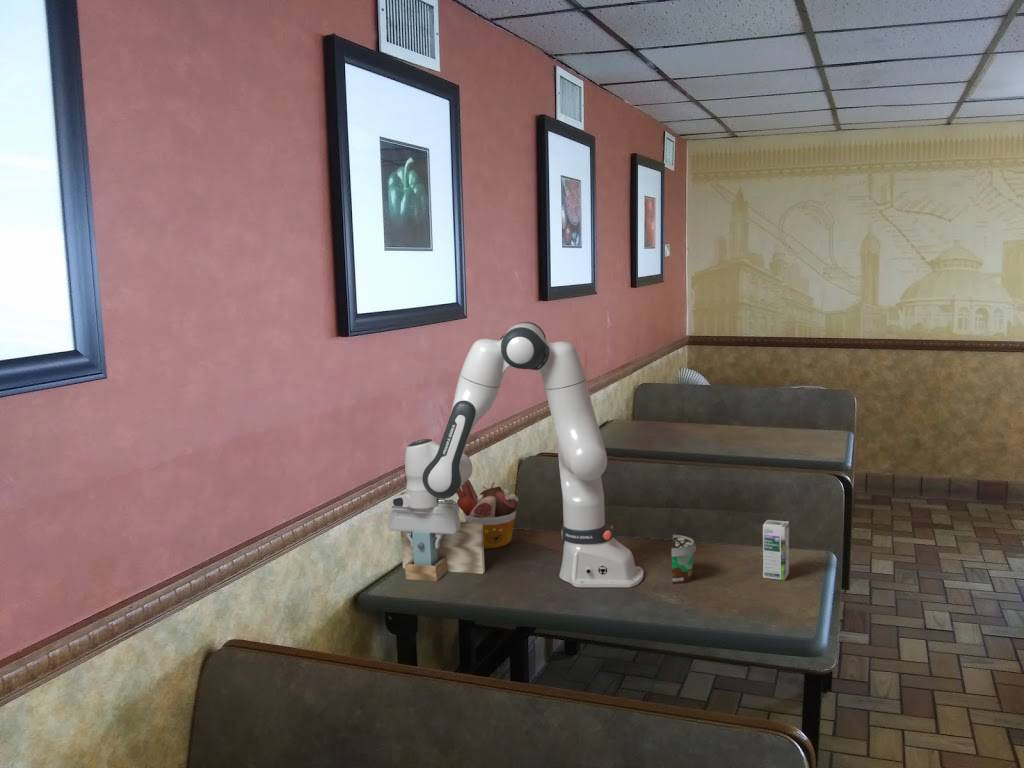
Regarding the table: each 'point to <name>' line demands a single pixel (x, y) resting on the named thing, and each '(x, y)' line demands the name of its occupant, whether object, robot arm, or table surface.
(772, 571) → the syrup box
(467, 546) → the cleat board
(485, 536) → the bucket of meat
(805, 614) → the table surface
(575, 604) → the table surface
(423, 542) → the cabinet block
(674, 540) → the food container
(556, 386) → the robot arm
